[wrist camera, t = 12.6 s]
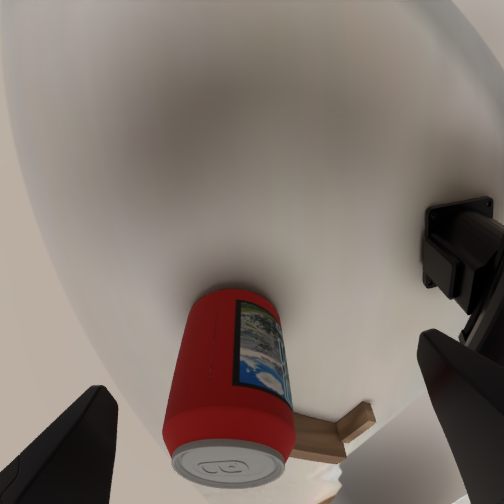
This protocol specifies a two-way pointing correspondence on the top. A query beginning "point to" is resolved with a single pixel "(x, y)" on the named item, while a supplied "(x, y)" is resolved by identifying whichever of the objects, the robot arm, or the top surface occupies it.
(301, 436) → the can cradle
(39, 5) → the top surface
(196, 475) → the beverage can
